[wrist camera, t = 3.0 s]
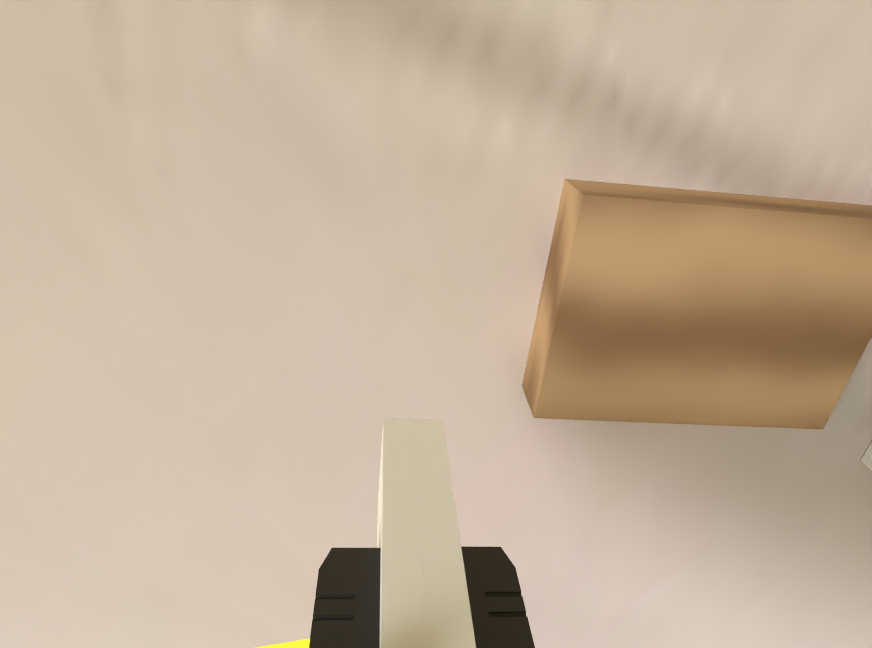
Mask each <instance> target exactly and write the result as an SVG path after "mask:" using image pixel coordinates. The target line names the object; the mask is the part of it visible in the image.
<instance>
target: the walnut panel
mask: <svg viewBox="0 0 872 648" xmlns="http://www.w3.org/2000/svg"><path fill="white" fill-rule="evenodd" d="M871 336H872V206H869V205H857V204H846V203H834V202H823V201H811V200H800V199H788V198H777V197H765V196H754V195H742V194H730V193H719V192H707V191H696V190H684V189H673V188H661V187H650V186H638V185H627V184H615V183H604V182H592V181H581V180H569V179H565V180H564V185H563V190H562V194H561V199H560V204H559V209H558V214H557V219H556V224H555V228H554V233H553V238H552V243H551V248H550V253H549V258H548V262H547V267H546V272H545V277H544V282H543V287H542V292H541V296H540V301H539V306H538V311H537V316H536V321H535V326H534V331H533V335H532V340H531V345H530V350H529V355H528V360H527V365H526V369H525V374H524V379H523V384H522V387H523V390H524V392H525V395H526V398H527V401H528V403H529V406H530V409H531V411H532V414H533V417H534V418H549V419H574V420H599V421H625V422H650V423H675V424H700V425H726V426H751V427H776V428H802V429H823V428H824V426H825V424H826V422H827V421H828V419H829V417H830V415H831V413H832V411H833V409H834V407H835V405H836V403H837V401H838V400H839V398H840V396H841V394H842V392H843V390H844V388H845V386H846V384H847V382H848V380H849V379H850V377H851V375H852V373H853V371H854V369H855V367H856V365H857V363H858V361H859V359H860V357H861V356H862V354H863V352H864V350H865V348H866V346H867V344H868V342H869V340H870V338H871Z"/></svg>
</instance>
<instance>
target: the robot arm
mask: <svg viewBox="0 0 872 648" xmlns="http://www.w3.org/2000/svg"><path fill="white" fill-rule="evenodd" d="M309 648H535V646H534V642H533V638H532V634H531V630H530V626H529V622H528V618H527V617H526V610H525V606H524V601H523V597H522V596H521V589H520V585H519V581H518V577H517V573H516V569H515V567H514V565H513V564H512V562H511V561H510V560H509V558H508V557H507V555H506V554H505V552H504V551H503V550H502V548H501V547H461V542H460V535H459V529H458V522H457V515H456V508H455V501H454V495H453V488H452V481H451V474H450V468H449V461H448V454H447V447H446V440H445V434H444V427H443V420H429V419H395V418H383V432H382V447H381V462H380V478H379V493H378V531H377V548H332V549H331V550H330V552H329V554H328V555H327V557H326V559H325V560H324V562H323V564H322V565H321V567H320V569H319V574H318V581H317V589H316V599H315V605H314V613H313V621H312V628H311V636H310V644H309Z"/></svg>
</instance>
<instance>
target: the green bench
mask: <svg viewBox="0 0 872 648" xmlns="http://www.w3.org/2000/svg"><path fill="white" fill-rule="evenodd" d="M861 462H862V463H863V464H864V465H866V466H867V467H868V468H869V469H870V470H871V471H872V442H871V444H870V445H869V447H868V449H867V451H866V452H865V454H864V456H863V457H862V459H861Z"/></svg>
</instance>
